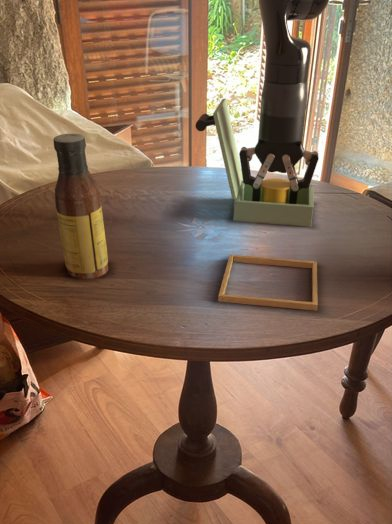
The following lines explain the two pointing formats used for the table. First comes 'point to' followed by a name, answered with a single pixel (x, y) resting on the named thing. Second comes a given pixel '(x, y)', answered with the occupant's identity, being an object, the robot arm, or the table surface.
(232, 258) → the tray
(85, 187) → the sauce bottle
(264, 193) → the cylinder
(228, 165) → the lid
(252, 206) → the green storage bin
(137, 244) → the table surface
